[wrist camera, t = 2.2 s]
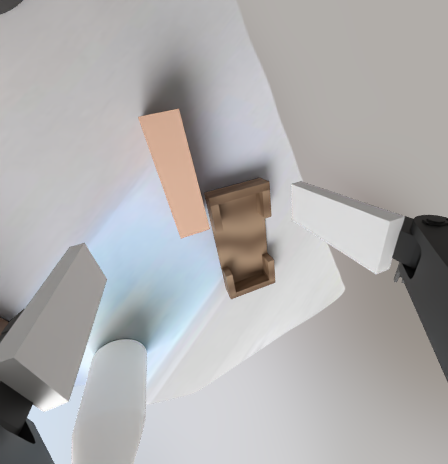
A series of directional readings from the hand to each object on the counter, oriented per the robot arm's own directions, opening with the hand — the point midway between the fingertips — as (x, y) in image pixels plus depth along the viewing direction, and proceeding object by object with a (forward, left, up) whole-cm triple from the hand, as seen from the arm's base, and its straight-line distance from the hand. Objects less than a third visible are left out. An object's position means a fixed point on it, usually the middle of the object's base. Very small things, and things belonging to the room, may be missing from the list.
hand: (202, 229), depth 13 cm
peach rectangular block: (0, 0, -18) cm, 18 cm away
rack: (+14, +8, -18) cm, 24 cm away
